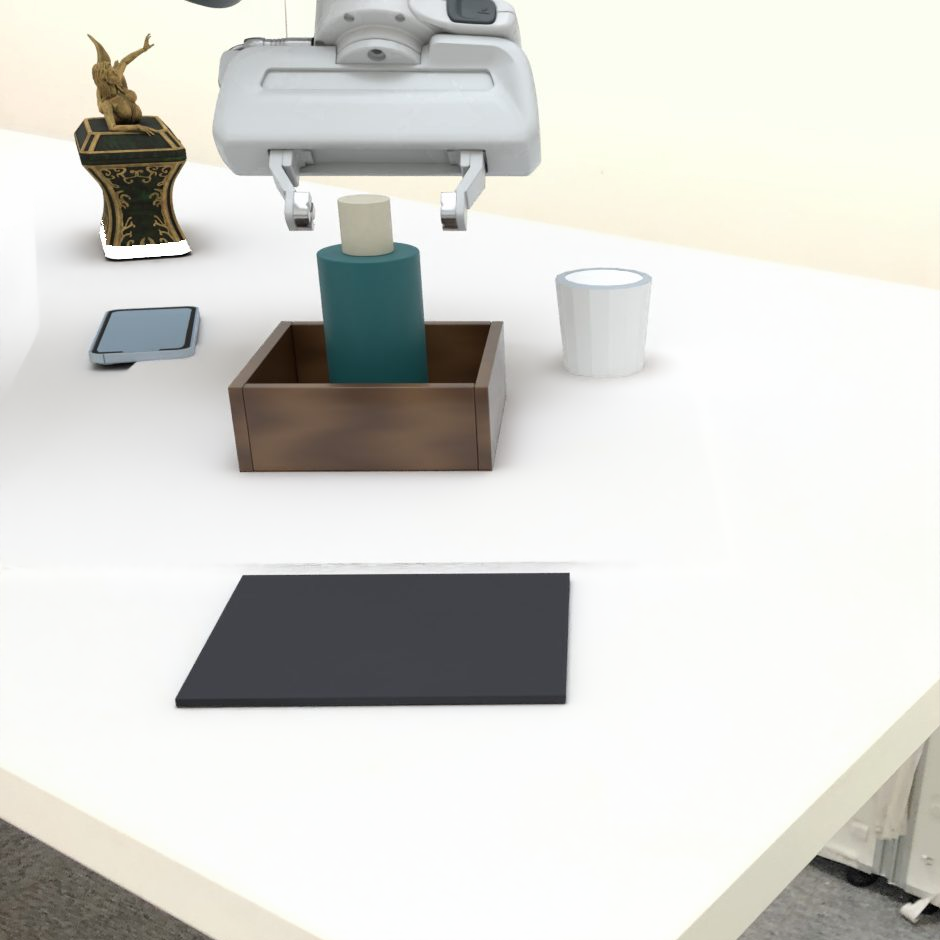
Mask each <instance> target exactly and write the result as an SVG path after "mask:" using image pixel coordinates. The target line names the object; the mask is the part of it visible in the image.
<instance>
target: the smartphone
mask: <svg viewBox="0 0 940 940" xmlns="http://www.w3.org/2000/svg"><path fill="white" fill-rule="evenodd" d="M199 317H200V318H201V314H200V307H198V306H195V305H180V306H177V305H175V306H157V307H156V306H155V307H136V308H135V307H134V308H133V307H132V308H116V309H110V310H107V311H105V313H104V315H103V317H102V319H101V321H100V324H99V326H98V329H97V331H96V332H95V336H94V338H93V340H92V343H91V345H90V348H89V350H88V351H87V352H88V357H89V361H90V363H93V364H99V365H101V366H112V365H116V364H126V363H127V364H128V363H135V362H146V361H147V362H148V361H149V362H150V361H166V360H179V359H180V360H181V359H187V358H191V357H193V356H194V355H195V350H196V345H197V338H198V332H199V324H200V319H199Z"/></svg>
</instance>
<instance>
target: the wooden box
mask: <svg viewBox="0 0 940 940" xmlns="http://www.w3.org/2000/svg"><path fill="white" fill-rule="evenodd" d="M424 323H425V338H426V352H427V367H428V381H429V383H335V384H330V381H329V371H328V361H327V352H326V342H325V333H324V323H323V320H317V321H316V320H309V321H307V320H303V321H302V320H301V321H298V320H295V321H294V320H281V321H280V322H279V324H278V325H277V326H276V327H275V328H274V330H273V331H272V332H271V333H270V335H269V336H268V337H267V338H266V339H265V341H264V342H263V343H262V345H261V346H260V347H259V348H258V349H257V351H255V353H254V355H253V356H252V357H251V358H250V359H249V360H248V362H246V364H245V366H243V368H242V369H241V371H240V372H239V373H238V374H237V376H236V377H235V378H234V379H233V380H232V382H231V383H230V384H229V385H228V387H227V392H228V400H229V406H230V413H231V420H232V421H231V422H232V430H233V435H234V442H235V449H236V457H237V464H238V470H239V473H341V472H342V473H344V472H345V473H355V472H356V473H364V472H365V473H371V472H372V473H374V472H375V473H378V472H379V473H380V472H381V473H382V472H384V473H388V472H389V473H390V472H392V473H394V472H395V473H397V472H398V473H400V472H401V473H402V472H403V473H404V472H406V473H411V472H412V473H413V472H417V473H419V472H493V470H494V464H495V459H496V453H497V448H498V443H499V437H500V433H501V428H502V427H501V426H502V422H503V415H504V411H505V410H504V409H505V404H506V399H507V381H506V379H507V376H506V375H507V374H506V353H505V351H506V349H505V329H504V327H505V326H504V321H503V320H492V321H491V320H424Z"/></svg>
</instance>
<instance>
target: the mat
mask: <svg viewBox="0 0 940 940" xmlns="http://www.w3.org/2000/svg"><path fill="white" fill-rule="evenodd" d="M570 587H571V573H570V572H494V573H492V572H484V573H483V572H479V573H478V572H477V573H476V572H475V573H472V572H471V573H469V572H467V573H337V574H336V573H333V574H331V573H330V574H329V573H328V574H322V573H320V574H316V573H315V574H313V573H312V574H242V575H241V577H240V579H239V580H238V583H237V585H236V586H235V588H234V590H233V591H232V593H231V596H230V597H229V599H228V601H227V603H226V604H225V606H224V608H223V610H222V612H221V613H220V616H219V617H218V619H217V620H216V623H215V625H214V627H213V629H212V630H211V632H210V634H209V636H208V638H207V639H206V641H205V643H204V645H203V646H202V649H201V650H200V652H199V654H198V656H197V657H196V660H195V662H194V663H193V665H192V666H191V669H190V671H189V673H188V674H187V676H186V678H185V680H184V682H183V684H182V685H181V687H180V689H179V691H178V693H177V694H176V696H175V698H174V701H175V707H177V708H186V707H187V708H188V707H191V708H192V707H275V706H276V707H280V706H281V707H282V706H283V707H284V706H285V707H287V706H289V707H290V706H293V707H294V706H296V707H297V706H385V705H387V706H388V705H389V706H390V705H397V706H398V704H399V705H470V704H471V705H478V704H479V705H483V704H491V705H493V704H495V705H496V704H497V705H498V704H565V703H566V702H567V677H568V676H567V673H568V650H569V649H568V647H569V645H568V644H569V618H570V617H569V615H570Z"/></svg>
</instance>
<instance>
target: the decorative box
mask: <svg viewBox="0 0 940 940" xmlns="http://www.w3.org/2000/svg"><path fill="white" fill-rule="evenodd" d="M86 35H87V37H88V38H89V40H90V41H91V42H92V43H93V45H94V47H95V49H96V57H97V58H96V63H94V64H93V66H92V67H91V76H92V80H93V83H94V85H95V86H96V92H95V95H96V106H97V108H98V112H99V113H100V114H101V115H103V116H93V117H92V116H91V117H86V118H84V119H83V120H82V121H81V123H80V124H79V125H78V127H77V128H76V130H75V131H74V132H73V136H74V137H73V138H74V142H75V146H76V150H77V153H78V156H79V160H80V161H79V162H80V164H81V166H82V167H83V168H84V169H85V171H87V173H88V174H89V175H90V176H91V177H92V178H93V179H94V180H95V182H96V183H97V184H98V185H99V187H100V189H101V190H102V198H103V210H102V215H101V220H103V221H102V222H103V224H104V225H103V226H104V230H105V232H104V233H105V234H106V237H105V238H106V239H107V240H106V245H112V246H132V245H146V244H160V243H168V242H179V241H181V240H185V239H187V238H186V235H185V234H184V232H183V230H182V229H181V226H180V224H179V221H178V220H177V219H178V218H177V215H176V212H175V208H174V199H173V195H174V194H173V192H174V186H175V182H176V179H177V178H178V176H179V174H180V173H181V171H182V169H183V167H184V166H185V164H186V162H187V161H188V156H187V149H186V147H185V146H184V145H183V143H182V141H181V140H180V139H178V137H177V136H176V134H175V133H174V132H173V131H172V129H171V128H170V127H169V126H168V124H166V123H165V122H164V121H163V119H161V117H159V116H158V115H143V112H142V109H141V107H140V106H139V105H138V104H137V103H136V101H137V100H138V95H137V93H136V91H134V90H132V89H129V87H128V83H127V80H126V77H125V74H124V73H125V71H126V68H127V67H128V65H130V64H131V63H132V62H134V60H135V59H137V58H138V57H139V56H141V55H142V54H143V53H146V52H147V51H148V50H150V49H151V48H153V47H154V46H155V43H151V44H150V39H151V37H152V35H151V33H150V32H149V33H148V34H147V35H146V36H145V39H144V42H143V46H142V48H138V49H137V50H135V51H132V52H130V53H129V54H127V55H125V56H124V57H123V58H122V59H120V61H119V59H117V60H115V61H114V62H113V65H112V60H111V57H110V55H109V53H108V51H107V50H106V49H105V47H104V45H102V43H100V42H99V41H98V40H96V38H95V37H93V36H92V35H91V34H89V33H87V34H86Z"/></svg>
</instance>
